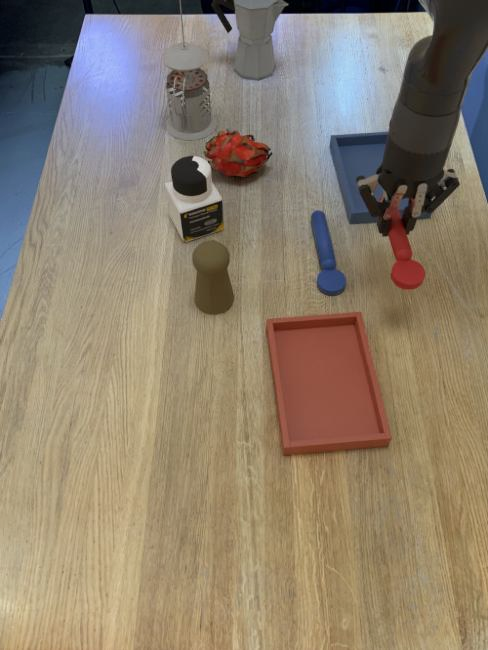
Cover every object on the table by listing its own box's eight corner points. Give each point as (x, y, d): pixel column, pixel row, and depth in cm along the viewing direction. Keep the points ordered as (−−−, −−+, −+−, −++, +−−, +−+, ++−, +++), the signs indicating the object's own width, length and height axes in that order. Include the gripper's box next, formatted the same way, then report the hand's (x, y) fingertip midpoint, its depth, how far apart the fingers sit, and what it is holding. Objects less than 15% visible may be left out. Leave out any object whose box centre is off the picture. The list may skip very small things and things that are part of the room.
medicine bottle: (183, 243, 97) (176, 188, 87) (168, 214, 101) (159, 158, 91) (224, 230, 98) (221, 174, 89) (208, 202, 102) (203, 145, 92)
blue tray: (402, 141, 111) (405, 130, 109) (430, 218, 100) (434, 207, 98) (329, 146, 110) (330, 135, 108) (349, 224, 99) (351, 213, 97)
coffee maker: (288, 59, 126) (294, -31, 111) (280, 84, 121) (285, -7, 106) (220, 51, 128) (216, -39, 113) (209, 75, 123) (203, -16, 108)
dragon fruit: (200, 174, 108) (265, 181, 110) (200, 179, 100) (271, 187, 102) (204, 125, 106) (271, 133, 107) (205, 126, 98) (278, 135, 99)
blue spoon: (303, 218, 100) (304, 208, 98) (329, 216, 100) (331, 206, 98) (319, 296, 91) (320, 287, 89) (347, 294, 91) (350, 284, 89)
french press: (221, 110, 116) (215, -25, 96) (209, 149, 110) (200, 14, 89) (172, 105, 117) (156, -30, 97) (157, 143, 111) (136, 8, 90)
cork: (206, 277, 93) (201, 228, 84) (241, 291, 91) (240, 242, 82) (187, 305, 90) (180, 257, 81) (222, 320, 88) (219, 273, 79)
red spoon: (369, 203, 89) (371, 191, 87) (398, 201, 89) (401, 189, 87) (394, 291, 80) (397, 280, 78) (427, 288, 80) (431, 277, 78)
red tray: (358, 321, 88) (360, 311, 86) (388, 446, 77) (391, 438, 75) (266, 328, 87) (266, 318, 85) (283, 455, 76) (284, 447, 74)
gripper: (369, 156, 68) (350, 255, 83) (489, 147, 69) (449, 247, 83) (357, 114, 73) (340, 216, 87) (470, 106, 73) (435, 208, 87)
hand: (394, 231), depth 85 cm, fingers closed on red spoon, 2 cm apart
